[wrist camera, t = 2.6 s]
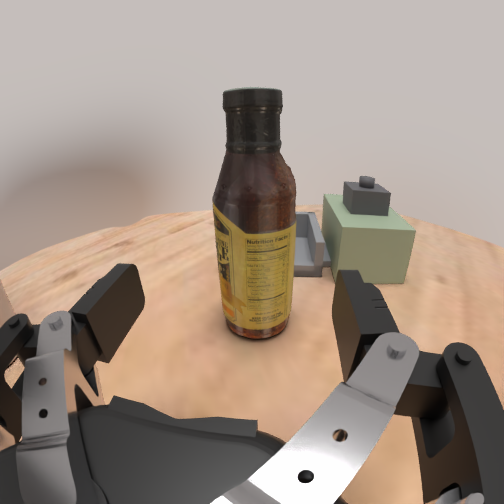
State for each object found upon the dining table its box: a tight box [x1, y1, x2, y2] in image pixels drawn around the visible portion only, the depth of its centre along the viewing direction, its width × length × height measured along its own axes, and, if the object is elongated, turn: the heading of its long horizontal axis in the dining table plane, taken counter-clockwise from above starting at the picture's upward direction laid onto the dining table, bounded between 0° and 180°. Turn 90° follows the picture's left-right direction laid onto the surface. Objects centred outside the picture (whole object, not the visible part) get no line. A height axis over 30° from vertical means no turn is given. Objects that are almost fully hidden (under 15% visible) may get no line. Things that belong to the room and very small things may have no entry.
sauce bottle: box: [213, 87, 296, 339], centre depth 21 cm, size 7×6×20 cm
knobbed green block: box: [293, 176, 416, 284], centre depth 35 cm, size 22×14×11 cm, turn 84°
